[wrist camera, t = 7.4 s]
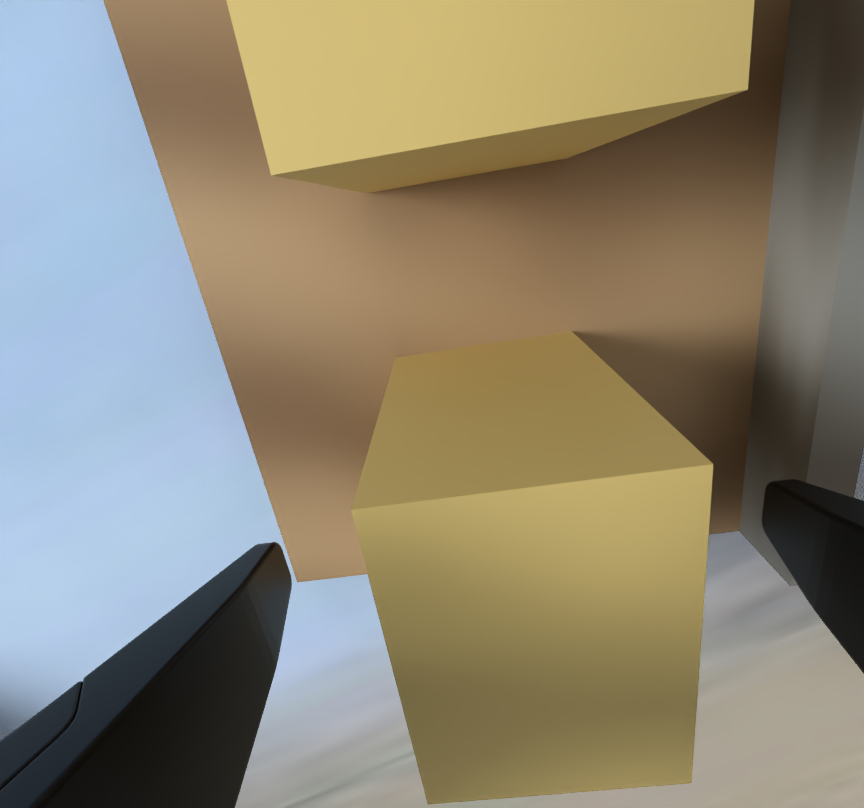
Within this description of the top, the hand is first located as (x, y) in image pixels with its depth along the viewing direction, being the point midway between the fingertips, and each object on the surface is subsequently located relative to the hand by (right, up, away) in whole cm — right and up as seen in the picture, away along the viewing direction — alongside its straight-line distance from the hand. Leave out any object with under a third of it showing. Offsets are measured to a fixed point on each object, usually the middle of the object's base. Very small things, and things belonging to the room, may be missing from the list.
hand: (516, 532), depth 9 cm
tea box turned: (0, +1, +3) cm, 3 cm away
